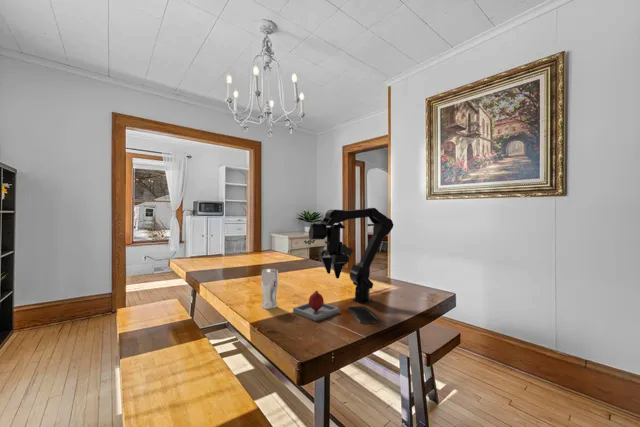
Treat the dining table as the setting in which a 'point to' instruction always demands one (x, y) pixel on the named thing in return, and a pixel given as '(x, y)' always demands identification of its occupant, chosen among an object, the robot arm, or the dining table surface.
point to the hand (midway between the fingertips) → (333, 275)
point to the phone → (363, 315)
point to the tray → (316, 315)
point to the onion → (316, 301)
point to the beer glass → (269, 288)
